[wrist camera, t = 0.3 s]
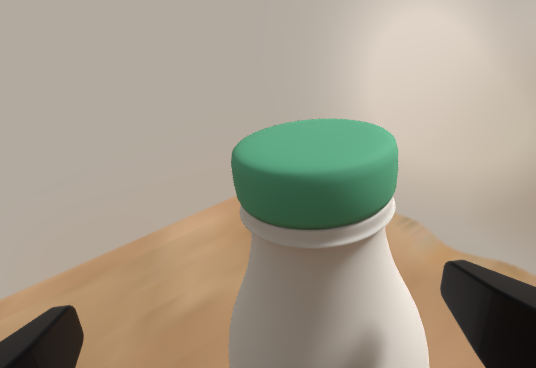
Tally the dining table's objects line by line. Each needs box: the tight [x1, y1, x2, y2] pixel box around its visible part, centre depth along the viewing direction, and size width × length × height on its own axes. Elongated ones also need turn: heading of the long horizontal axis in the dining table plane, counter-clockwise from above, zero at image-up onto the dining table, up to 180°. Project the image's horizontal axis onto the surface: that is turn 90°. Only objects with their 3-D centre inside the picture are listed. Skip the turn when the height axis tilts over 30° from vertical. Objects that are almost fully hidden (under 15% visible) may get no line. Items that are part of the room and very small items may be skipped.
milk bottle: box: [229, 119, 429, 368], centre depth 13 cm, size 8×8×20 cm
